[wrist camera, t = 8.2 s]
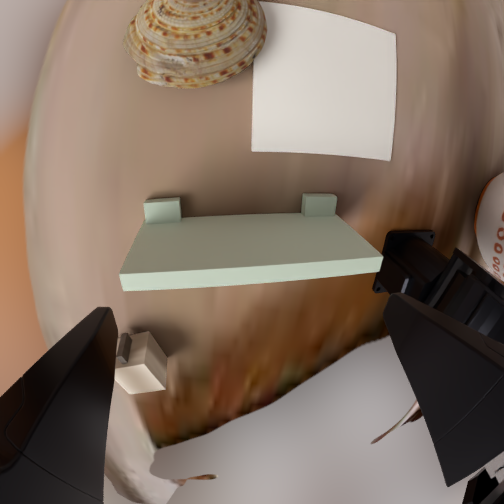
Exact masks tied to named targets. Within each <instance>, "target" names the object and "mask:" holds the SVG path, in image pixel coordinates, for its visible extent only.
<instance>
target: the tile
mask: <svg viewBox="0 0 504 504" xmlns="http://www.w3.org/2000/svg"><path fill="white" fill-rule="evenodd" d="M259 3H260V5H261V7H262V9H263V11H264V13H265V18H266V23H267V35H266V39H265V43H264V46H263V47H262V49H261V51H260V53H259V54H258V55H257V57H256V58H255V59H254V60H253V94H252V138H251V151H252V152H295V153H315V154H329V155H341V156H352V157H361V158H370V159H378V160H386V161H391V152H392V143H393V133H394V121H395V105H396V35H395V34H393V33H391V32H388V31H386V30H383V29H381V28H378V27H375V26H372V25H369V24H366V23H363V22H360V21H357V20H354V19H350V18H347V17H343V16H340V15H336V14H332V13H328V12H324V11H319V10H315V9H310V8H304V7H299V6H293V5H287V4H279V3H271V2H262V1H259Z"/></svg>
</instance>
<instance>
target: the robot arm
mask: <svg viewBox="0 0 504 504" xmlns="http://www.w3.org/2000/svg"><path fill="white" fill-rule="evenodd" d="M391 237H392V238H391ZM434 238H435V232H433V231H432V230H417V231H390V232H389V233H388V234H387V235H386V239H385V243H384V247H383V251H382V256H383V260H382V263H381V267H380V271H379V272H377V274H376V277H375V281H374V284H373V288H372V289H373V291H374V292H375V293H382V292H388V293H389V294H390V297H389V299H388V302H387V304H386V306H385V309H384V311H383V318H384V321H385V324H386V326H387V329H388V332H389V334H390V337H391V339H392V342H393V345H394V348H395V350H396V353H397V355H398V358H399V360H400V362H401V364H402V366H403V369H404V371H405V373H406V375H407V378H408V380H409V382H410V385H411V387H412V389H413V391H414V394H415V396H416V399H417V401H418V404H419V406H420V409H421V411H422V414H423V416H424V419H425V421H426V424H427V427H428V430H429V432H430V435H431V438H432V441H433V443H434V447H435V450H436V453H437V456H438V459H439V462H440V465H441V469H442V472H443V476H444V479H445V483H446V485H447V487H449V486H451V485H453V484H455V483H457V482H458V481H460V480H462V479H463V478H465V477H467V476H469V475H470V474H472V473H473V472H475V471H477V470H478V469H480V468H481V467H483V466H484V468H483V469H481V470H480V471H479V472H478V473H477V474H476V475H475V476H474V477H472V478H471V479H470V480H469V481H468V484H467V488H466V492H465V495H464V499H463V502H462V504H504V285H503V284H502V283H501V282H500V281H499V280H498V279H496V278H495V277H494V276H493V275H492V274H491V273H490V272H488V271H487V270H486V269H485V268H483V267H482V266H481V265H480V264H478V263H477V262H476V261H475V260H473V259H472V258H470V257H469V256H468V255H466V254H465V253H463V252H462V251H460V250H459V249H458V248H455V249H454V251H453V255H452V257H451V259H450V260H449V259H448V258H446V257H445V256H444V255H443V254H441V253H440V252H439V251H437V250H436V249H435V248H434V247H432V245H433V241H434ZM117 341H118V328H117V325H116V322H115V318H114V315H113V311H112V309H111V308H110V307H97V308H96V309H94V310H93V311H92V312H91V313H90V314H89V315H87V316H86V317H85V318H84V319H83V320H82V321H81V322H79V323H78V324H77V325H76V326H75V327H74V328H73V329H72V330H70V331H69V332H68V333H67V334H66V335H65V336H64V337H63V338H61V339H60V340H59V341H58V342H57V343H56V344H55V345H54V346H53V347H52V348H51V349H49V350H48V351H47V352H46V353H45V354H44V355H43V356H42V357H41V358H40V359H39V360H38V361H37V362H36V363H35V364H34V365H33V366H32V367H31V368H30V369H28V371H26V372H25V373H24V374H23V376H22V377H20V378H19V379H18V380H17V381H16V382H15V383H14V384H13V385H12V386H11V387H10V388H9V389H8V390H7V391H6V392H5V393H4V394H3V395H2V396H1V397H0V504H104V503H103V487H104V464H105V450H106V439H107V429H108V421H109V413H110V406H111V399H112V392H113V386H114V379H115V365H116V352H117Z"/></svg>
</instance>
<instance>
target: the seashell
mask: <svg viewBox="0 0 504 504" xmlns="http://www.w3.org/2000/svg"><path fill="white" fill-rule="evenodd" d="M266 35H267V23H266V18H265V13H264V11H263V9H262V7H261V5H260V3H259V1H258V0H146V2H145V3H144V4H143V5H142V6H141V8H140V10H139V12H138V14H137V15H136V16H135V17H134V18H133V19H132V20H131V22H130V24H129V26H128V28H127V31H126V34H125V37H124V41H123V46H124V48H125V50H126V52H127V53H128V54H129V55H130V56H131V57H132V58H133V59H134V60H135V61H136V62H137V73H138V75H139V77H141V78H143V79H144V80H146V81H148V82H149V83H152V84H157V85H160V86H163V87H175V88H188V89H191V88H199V87H205V86H209V85H213V84H216V83H219V82H222V81H224V80H226V79H229V78H231V77H232V76H234V75H236V74H238V73H240V72H241V71H243V70H244V69H245V68H246V67H248V66H249V65H250V64H251V63H252V62H253V60H254V59H255V58H256V57H257V55H258V54H259V53H260V51H261V49H262V47H263V46H264V43H265V39H266Z"/></svg>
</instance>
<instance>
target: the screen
mask: <svg viewBox="0 0 504 504" xmlns="http://www.w3.org/2000/svg"><path fill="white" fill-rule="evenodd" d="M336 203H337V196H335V195H334V194H317V193H303V197H302V208H301V213H275V214H246V215H223V216H204V217H187V218H182V217H181V204H180V197H176V198H162V199H150V200H146V201H145V202H144V210H145V218H146V220H144V222H143V224H142V226H141V228H140V230H139V232H138V234H137V236H136V238H135V240H134V242H133V245H132V247H131V249H130V251H129V253H128V255H127V257H126V260H125V262H124V264H123V266H122V268H121V271H120V273H119V276H120V280H121V284H122V288H123V291H140V290H163V289H182V288H199V287H215V286H230V285H244V284H257V283H270V282H281V281H293V280H304V279H314V278H324V277H334V276H344V275H353V274H362V273H371V272H379V271H380V267H381V263H382V260H383V256H382V255H381V254H380V253H379V252H378V251H377V250H376V249H375V248H374V247H373V246H371V245H370V244H369V243H368V242H367V241H366V240H365V239H364V238H363V237H362V236H360V235H359V234H358V233H357V232H356V231H355V230H354V229H352V228H351V227H350V226H349V225H348V224H347V223H346V222H344V221H343V220H342V219H341V218H340V217H339V216H337V215H336V214H335V210H336Z"/></svg>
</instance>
